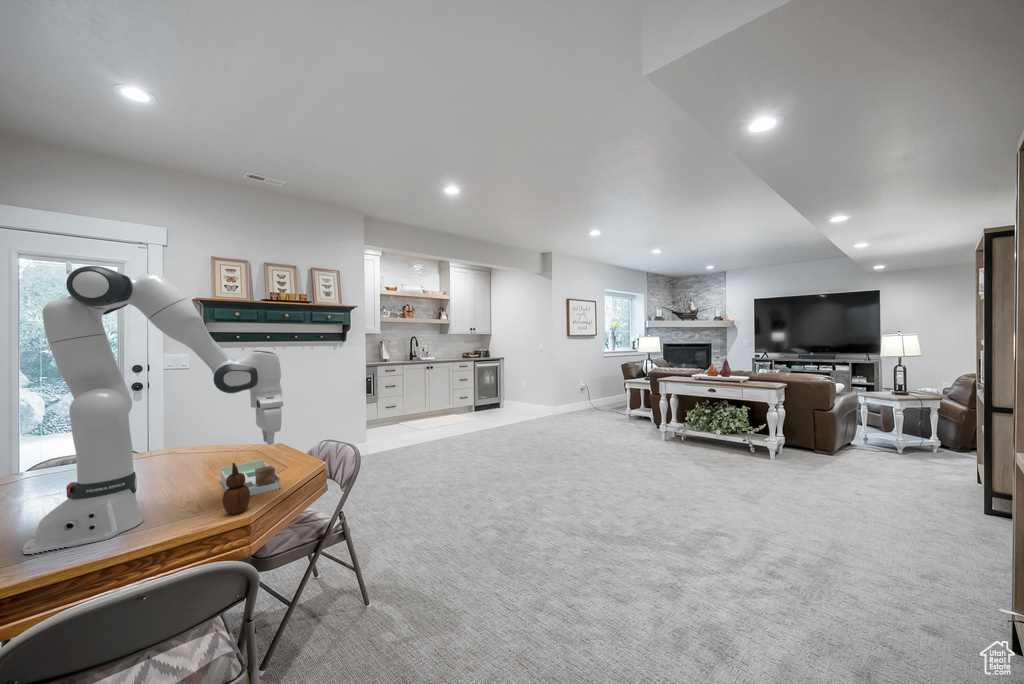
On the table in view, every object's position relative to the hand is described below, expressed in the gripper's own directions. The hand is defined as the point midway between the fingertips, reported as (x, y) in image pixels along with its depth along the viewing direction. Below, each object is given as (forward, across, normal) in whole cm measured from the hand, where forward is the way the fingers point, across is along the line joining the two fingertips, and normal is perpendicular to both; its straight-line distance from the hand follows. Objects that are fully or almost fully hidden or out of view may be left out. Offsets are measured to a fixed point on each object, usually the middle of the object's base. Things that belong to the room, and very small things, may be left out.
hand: (268, 442), depth 134 cm
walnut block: (+15, -9, 0) cm, 18 cm away
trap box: (+17, -19, -3) cm, 26 cm away
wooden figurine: (+17, +8, -10) cm, 22 cm away
